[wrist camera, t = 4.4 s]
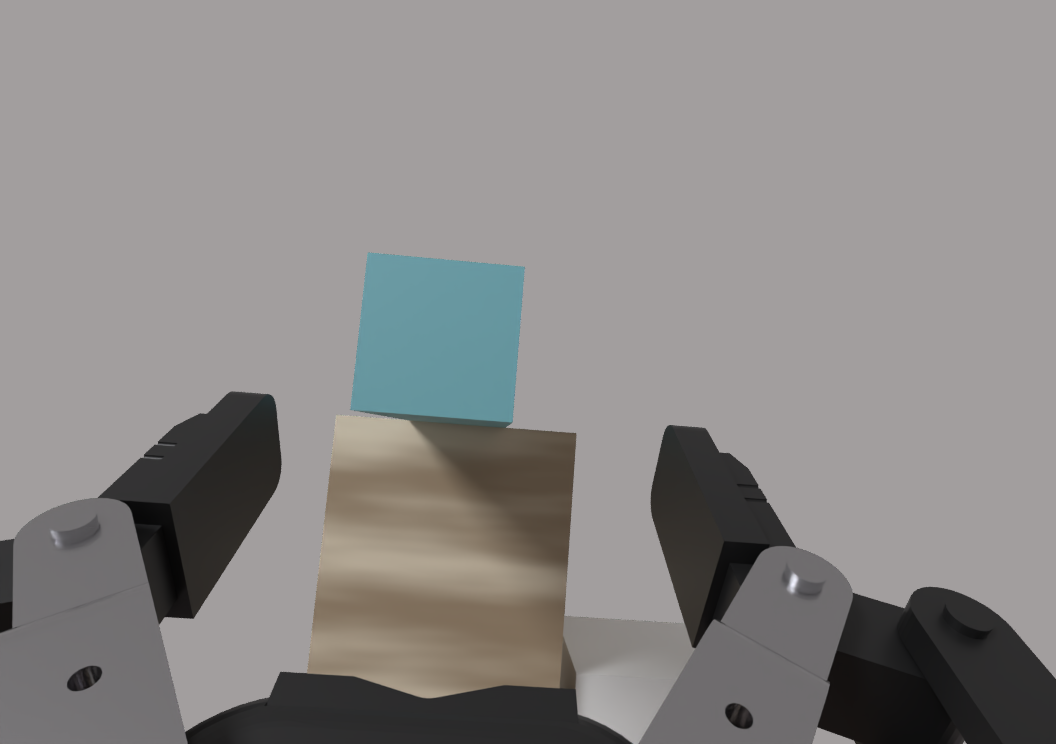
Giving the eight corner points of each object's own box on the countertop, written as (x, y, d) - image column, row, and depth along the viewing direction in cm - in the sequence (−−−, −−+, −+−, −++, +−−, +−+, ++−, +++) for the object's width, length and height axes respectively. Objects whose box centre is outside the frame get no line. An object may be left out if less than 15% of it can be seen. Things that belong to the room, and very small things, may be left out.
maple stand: (517, 1325, 21) (576, 433, 25) (233, 1324, 21) (336, 414, 24) (507, 942, 37) (544, 434, 40) (347, 936, 36) (398, 423, 40)
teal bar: (512, 422, 15) (524, 266, 15) (350, 410, 14) (367, 252, 15) (500, 431, 40) (505, 373, 41) (442, 426, 40) (448, 368, 41)
